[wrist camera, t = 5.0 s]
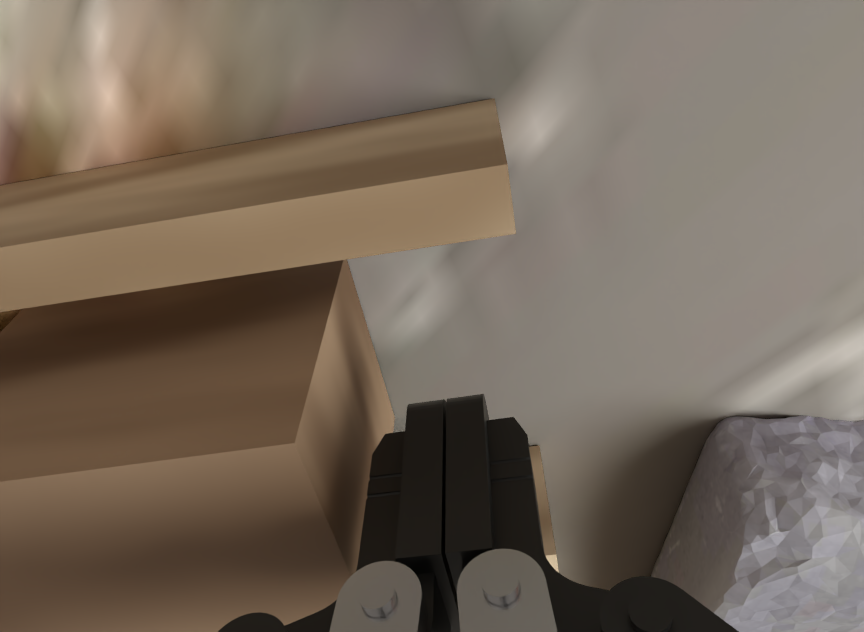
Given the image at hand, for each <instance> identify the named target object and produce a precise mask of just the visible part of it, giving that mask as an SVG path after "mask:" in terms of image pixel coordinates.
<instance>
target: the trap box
mask: <svg viewBox="0 0 864 632" xmlns="http://www.w3.org/2000/svg"><path fill="white" fill-rule="evenodd" d="M510 234H516V229H515V221H514V213H513V206H512V198H511V190H510V182H509V174H508V166H507V160H506V155H505V150H504V145H503V140H502V135H501V130H500V124H499V119H498V114H497V109H496V104H495V99H488V100H483V101H477V102H471V103H466V104H460V105H454V106H449V107H443V108H437V109H432V110H426V111H420V112H414V113H409V114H403V115H397V116H392V117H386V118H380V119H375V120H369V121H363V122H358V123H352V124H346V125H341V126H335V127H329V128H324V129H318V130H312V131H307V132H301V133H295V134H289V135H284V136H278V137H272V138H267V139H261V140H255V141H250V142H244V143H238V144H233V145H227V146H221V147H216V148H210V149H204V150H199V151H193V152H187V153H182V154H176V155H170V156H165V157H159V158H153V159H147V160H142V161H136V162H130V163H125V164H119V165H113V166H108V167H102V168H96V169H91V170H85V171H79V172H74V173H68V174H62V175H57V176H51V177H45V178H40V179H34V180H28V181H22V182H17V183H11V184H5V185H0V312H4V311H11V310H18V309H24V308H31V307H37V306H44V305H50V304H57V303H64V302H70V301H77V300H83V299H90V298H96V297H103V296H110V295H116V294H123V293H129V292H136V291H142V290H149V289H156V288H162V287H169V286H175V285H182V284H188V283H195V282H202V281H208V280H215V279H221V278H228V277H234V276H241V275H248V274H254V273H261V272H267V271H274V270H280V269H287V268H294V267H300V266H307V265H313V264H320V263H326V262H333V261H340V260H346V259H353V258H359V257H366V256H372V255H379V254H385V253H392V252H399V251H405V250H412V249H418V248H425V247H431V246H438V245H445V244H451V243H458V242H464V241H471V240H477V239H484V238H491V237H497V236H504V235H510ZM529 450H530V456H531V462H532V469H533V475H534V481H535V488H536V495H537V502H538V509H539V516H540V524H541V531H542V538H543V546H544V553H545V556H546V558H547V560H548V561H549V563H550V564H551V566H552V567H553V568H554V569H555V570H556V571H557V572H558V573H559V571H558V563H557V555H556V549H555V542H554V536H553V530H552V523H551V517H550V511H549V504H548V498H547V491H546V485H545V479H544V472H543V466H542V459H541V453H540V447H539V446H531V447H529Z"/></svg>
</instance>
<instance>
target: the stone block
mask: <svg viewBox="0 0 864 632" xmlns="http://www.w3.org/2000/svg"><path fill="white" fill-rule="evenodd" d="M651 577H655V578H660V579H663V580H666V581H668V582H671V583H673V584H675V585H676V586H678V587H679V588H681V589H682V590H684V591H685V592H686V593H688V594H689V595H690V596H692V597H693V598H694V599H696V600H697V601H698V602H700V603H701V604H702V605H704V606H705V607H707V608H708V609H709V610H711V611H712V612H713V613H715V614H716V615H717V616H719V617H720V618H721V619H723V620H724V621H725V622H727V623H728V624H729V625H731V626H732V627H733V628H735V629H736V630H737V631H739V632H864V420H862V421H857V422H851V421H842V420H829V419H825V418H821V417H810V416H794V417H788V418H784V419H761V418H754V417H741V416H734V417H728V418H725V419H723V420H722V421H721V422H719V423H718V424H717V425H716V427H715V429H714V430H713V431H712V432H711V434H710V435H709V437H708V438H707V440H706V442H705V444H704V446H703V449H702V452H701V454H700V457H699V459H698V461H697V464H696V466H695V469H694V471H693V473H692V475H691V478H690V480H689V482H688V485H687V488H686V491H685V493H684V496H683V498H682V501H681V503H680V505H679V508H678V510H677V513H676V515H675V517H674V520H673V523H672V525H671V528H670V530H669V533H668V535H667V537H666V539H665V542H664V544H663V547H662V550H661V552H660V555H659V557H658V559H657V561H656V563H655V565H654V568H653V571H652V574H651Z"/></svg>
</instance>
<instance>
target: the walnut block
mask: <svg viewBox="0 0 864 632" xmlns="http://www.w3.org/2000/svg"><path fill="white" fill-rule="evenodd" d="M394 419H395V417H394V414H393V410H392V407H391V404H390V400H389V397H388V394H387V390H386V387H385V384H384V381H383V377H382V374H381V371H380V367H379V364H378V361H377V357H376V354H375V351H374V348H373V344H372V341H371V338H370V334H369V331H368V328H367V324H366V321H365V318H364V314H363V311H362V308H361V305H360V301H359V298H358V295H357V291H356V288H355V285H354V281H353V278H352V275H351V272H350V268H349V265H348V262H347V259H346V260H340V261H333V262H326V263H320V264H313V265H307V266H300V267H294V268H287V269H280V270H274V271H267V272H261V273H254V274H248V275H241V276H234V277H228V278H221V279H215V280H208V281H202V282H195V283H188V284H182V285H175V286H169V287H162V288H156V289H149V290H142V291H136V292H129V293H123V294H116V295H110V296H103V297H96V298H90V299H83V300H77V301H70V302H64V303H57V304H50V305H44V306H37V307H31V308H24V309H22V310H21V311H20V312H19V313H18V314H17V315H16V316H15V317H14V318H13V319H12V320H11V322H10V323H9V324H8V325H7V326H6V327H5V328H4V329H3V330H2V331H1V332H0V632H218V631H219V630H220V629H221V628H222V627H223V626H225V625H226V624H227V623H229V622H230V621H232V620H234V619H236V618H238V617H240V616H243V615H245V614H250V613H257V612H262V613H268V614H271V615H273V616H275V617H277V618H278V619H279V620H280V621H281V622H282V623H283V625H284V626H285V625H287V624H290V623H292V622H295V621H297V620H299V619H302V618H304V617H307V616H309V615H311V614H314V613H316V612H318V611H320V610H322V609H324V608H326V607H327V606H329V605H331V604H332V603H333V602H334V601H336V600H337V598H338V594H339V592H340V590H341V588H342V586H343V585H344V583H345V582H346V581H347V580H348V579H349V578H350V576H351V575H353V574H354V573H355V572H356V569H357V565H358V557H359V550H360V542H361V535H362V527H363V520H364V512H365V505H366V499H367V490H368V482H369V481H370V478H369V474H370V467H371V459H372V454H373V452H374V451H375V449H376V448H377V446H378V444H379V443H380V441H381V440H382V438H383V436H384V435H385V434H388V433H393V429H394Z"/></svg>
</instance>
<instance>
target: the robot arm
mask: <svg viewBox="0 0 864 632" xmlns="http://www.w3.org/2000/svg"><path fill="white" fill-rule="evenodd" d="M369 478H370V481H369V482H368V490H367V499H366V505H365V512H364V520H363V527H362V535H361V542H360V550H359V557H358V565H357V569H356V572H355V573H354V574H353V575H351V576H350V578H349V579H348V580H347V581H346V582H345V583H344V585H343V586H342V588H341V590H340V592H339V594H338V598H337V600H336V601H334V602H333V603H332V604H331V605H329V606H327V607H326V608H324V609H322V610H320V611H318V612H316V613H314V614H311V615H309V616H307V617H304V618H302V619H299V620H297V621H295V622H292V623H290V624H287V625H285V626H284V625H283V623H282V622H281V621H280V620H279V619H278V618H277V617H275V616H273V615H271V614H268V613H262V612H257V613H250V614H245V615H243V616H240V617H238V618H236V619H234V620H232V621H230V622H229V623H227V624H226V625H225V626H223V627H222V628H221V629H220V630H219V631H218V632H739V631H737V630H736V629H735V628H733V627H732V626H731V625H729V624H728V623H727V622H725V621H724V620H723V619H721V618H720V617H719V616H717V615H716V614H715V613H713V612H712V611H711V610H709V609H708V608H707V607H705V606H704V605H702V604H701V603H700V602H698V601H697V600H696V599H694V598H693V597H692V596H690V595H689V594H688V593H686V592H685V591H684V590H682V589H681V588H679V587H678V586H676V585H675V584H673V583H671V582H668V581H666V580H663V579H660V578H655V577H634V578H630V579H627V580H624V581H622V582H620V583H618V584H617V585H616V586H614V587H613V588H612V589H611V590H610V591H608V590H603V589H599V588H594V587H589V586H585V585H581V584H578V583H575V582H573V581H571V580H569V579H567V578H565V577H564V576H562V575H561V574H560V573H558V572H557V571H556V570H555V569H554V568H553V567H552V566H551V564H550V563H549V561H548V560H547V558H546V556H545V553H544V546H543V538H542V531H541V524H540V516H539V509H538V502H537V495H536V488H535V481H534V475H533V469H532V462H531V456H530V450H529V444H528V437H527V434H526V433H525V431H524V430H523V429H522V427H521V426H520V425H519V424H518V422H517V421H516V420H515V418H514V417H510V418H503V419H495V420H489V416H488V411H487V406H486V401H485V397H484V394H480V395H473V396H465V397H458V398H450V399H447V402H446V401H445V400H437V401H429V402H422V403H414V404H409V405H408V407H407V416H406V428H405V431H404V432H396V433H388V434H385V435H384V436H383V438H382V440H381V441H380V443H379V444H378V446H377V448H376V449H375V451H374V452H373V454H372V459H371V467H370V474H369Z"/></svg>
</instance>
